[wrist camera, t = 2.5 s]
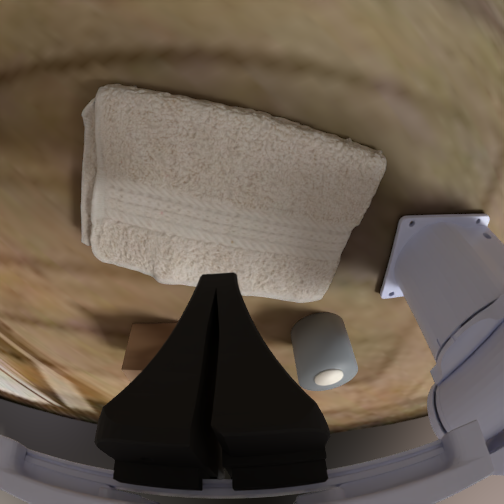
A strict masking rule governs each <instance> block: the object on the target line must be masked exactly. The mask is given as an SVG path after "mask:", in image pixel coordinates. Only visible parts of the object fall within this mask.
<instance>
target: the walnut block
mask: <svg viewBox="0 0 504 504" xmlns="http://www.w3.org/2000/svg"><path fill="white" fill-rule="evenodd" d="M176 324H177V323H133V324H132V328H131V332H130V336H129V340H128V344H127V348H126V352H125V357H124V361H123V365H122V371H123V372H124V374H125V375H126V377H127V378H128V380H129V381H130V383H131V382H132V381H133V380H134V379H135V378H136V377H137V376H138V375H139V374H140V373H141V371H142V370H143V369H144V368H145V367H146V366H147V365H148V364H149V362H150V361H151V360H152V359H153V357H154V356H155V355H156V354H157V352H158V351H159V350H160V348H161V347H162V346H163V344H164V343H165V341H166V340H167V339H168V337H169V336H170V334H171V333H172V331H173V329H174V328H175V326H176Z"/></svg>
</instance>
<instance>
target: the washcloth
mask: <svg viewBox="0 0 504 504" xmlns="http://www.w3.org/2000/svg"><path fill="white" fill-rule="evenodd" d="M81 116H82V117H83V122H84V126H85V132H84V153H83V161H82V187H81V190H82V192H81V224H82V227H81V228H82V239H81V241H82V243H84V244H86V245H88V246H90V245H91V246H92V252H93V254H94V256H95V257H96V258H97V259H99V260H100V261H102V262H105V263H110V264H115V265H117V266H121V267H125V268H128V269H132V270H136V271H139V272H142V273H143V274H147V275H150V276H152V277H154V278H155V280H157V281H158V282H159V283H163V284H171V285H172V284H182V285H187V286H195V287H196V286H197V284H198V281H199V279H200V277H201V276H202V275H203V274H217V273H232V272H234V273H236V274H237V279H238V285H239V289H240V292H241V295H246V296H259V297H267V298H274V299H280V300H285V301H292V302H297V303H304V302H312V301H316V300H320V299H322V297H323V295H324V293H325V292H326V291H327V289H328V287H329V285H330V283H331V282H332V278H333V276H334V274H335V271H336V269H337V266H338V263H339V262H340V255H341V253H342V251H343V249H344V248H345V246H346V244H347V240H348V239H349V237H350V234H351V230H352V229H353V228H354V227H355V226H358V225H359V224H360V221H361V220H362V219H363V216H364V213H365V212H366V210H367V208H369V206H370V203H371V200H372V197H373V195H375V193H376V190H377V188H378V186H379V183H380V181H381V179H382V177H383V175H384V172H385V171H386V163H387V161H386V158H385V156H384V155H383V154H382V151H381V150H379V151H377V150H373V149H371V148H369V147H367V146H362V145H360V144H359V143H356V142H353V141H352V140H351V138H348V139H342V138H340V137H338V136H337V135H336V134H328V133H325V132H322V131H319V130H315V129H313V128H310V127H309V126H307V125H306V126H305V125H300V123H299V122H292V121H290V120H288V119H285V118H282V117H273V116H271V115H270V114H269V113H266V112H262V111H254V110H253V109H245V108H241V107H237V106H234V107H229V106H227V105H223V104H222V103H221V104H220V103H213V102H211V101H208V100H198V99H193V98H190V97H187V96H183V95H171V94H170V93H168V92H167V93H166V92H161V91H160V92H159V91H153V90H151V89H149V90H147V89H139V88H137V86H136V85H135V86H123V85H121V84H112V85H110V84H107V85H105V86H104V87H99V89H98V91H97V94H96V97H95V98H94V99H92V100H91V101H90V102H89V104H88V105H87V106H86V107H85V108H84V109H83V111H82V114H81Z"/></svg>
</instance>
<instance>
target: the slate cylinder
mask: <svg viewBox="0 0 504 504" xmlns="http://www.w3.org/2000/svg"><path fill="white" fill-rule="evenodd" d="M291 340H292V345H293V351H294V357H295V363H296V368H297V374H298V380H299V384H300V386H301V387H303V388H304V389H307V390H312V391H322V390H329V389H333V388H336V387H339V386H341V385H343V384H345V383H347V382H348V381H350V380H351V379H352V378H353V377H354V376H355V375H356V373H357V371H358V366H357V363H356V360H355V356H354V353H353V350H352V347H351V344H350V340H349V337H348V334H347V331H346V328H345V325H344V322H343V320H342V318H341V317H340V316H338V315H336V314H333V313H326V312H323V313H316V314H312V315H309V316H307V317H305V318H303V319H301V320H300V321H298V322H297V323H296V324H295V325H294V326H293V328H292V330H291Z"/></svg>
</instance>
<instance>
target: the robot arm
mask: <svg viewBox="0 0 504 504" xmlns="http://www.w3.org/2000/svg"><path fill="white" fill-rule="evenodd" d="M489 219H490V218H489V216H488V215H487V214H443V215H407V216H403V217H401V218H400V220H399V223H398V227H397V231H396V236H395V240H394V244H393V248H392V252H391V255H390V259H389V263H388V267H387V270H386V274H385V277H384V281H383V284H382V287H381V291H380V296H381V298H383V299H386V298H393V297H401V296H404V297H405V299H406V301H407V303H408V305H409V307H410V309H411V311H412V313H413V314H414V316H415V318H416V320H417V323H418V325H419V327H420V329H421V331H422V333H423V335H424V337H425V339H426V341H427V343H428V345H429V348H430V350H431V352H432V354H433V356H434V359H435V361H436V365H435V366H434V367H433V368H432V370H431V371H430V372H431V375H432V377H433V380H434V382H435V384H434V385H433V386H432V387H431V389H430V391H429V394H428V400H427V409H428V415H429V420H430V423H431V426H432V428H433V431H434V433H435V434H436V436H437V437H438V439H439V440H436V441H434V442H431V443H428V444H425V445H423V446H419V447H417V448H413V449H411V450H407V451H404V452H401V453H397V454H394V455H390V456H387V457H383V458H379V459H376V460H372V461H368V462H363V463H359V464H355V465H350V466H345V467H340V468H335V469H330V470H327V468H326V462H325V459H326V452H325V445H326V443H327V441H328V440H329V438H330V431H329V428H328V425H327V422H326V420H325V418H324V416H323V414H322V412H321V410H320V409H319V407H318V405H317V403H316V402H315V401H314V400H313V399H312V398H311V397H310V396H308V395H307V394H306V393H305V392H304V391H303V390H302V389H301V387H300V386H299V385H298V384H297V383H296V382H295V381H294V380H293V379H292V378H291V377H290V375H289V374H288V373H287V372H286V370H285V369H284V368H283V367H282V365H281V364H280V363H279V362H278V360H277V359H276V358H275V356H274V355H273V354H272V352H271V351H270V349H269V348H268V346H267V345H266V343H265V342H264V340H263V339H262V337H261V335H260V333H259V332H258V330H257V328H256V326H255V324H254V323H253V321H252V319H251V317H250V315H249V312H248V310H247V308H246V305H245V303H244V301H243V298H242V295H241V292H240V289H239V285H238V279H237V274H236V273H234V272H232V273H217V274H203V275H202V276H201V277H200V279H199V281H198V284H197V286H196V288H195V291H194V293H193V295H192V297H191V299H190V301H189V303H188V305H187V307H186V309H185V311H184V312H183V314H182V316H181V318H180V319H179V321H178V323H177V324H176V326H175V328H174V329H173V331H172V333H171V334H170V336H169V337H168V339H167V340H166V341H165V343H164V344H163V346H162V347H161V348H160V350H159V351H158V352H157V354H156V355H155V356H154V357H153V359H152V360H151V361H150V362H149V364H148V365H147V366H146V367H145V368H144V369H143V370H142V371H141V373H140V374H139V375H138V376H137V377H136V378H135V379H134V380H133V381H132V382H131V383H130V384H129V385H128V386H127V387H126V388H125V389H124V390H123V391H121V392H120V393H119V394H118V395H117V396H116V397H114V398H113V399H112V400H111V401H110V402H109V403H107V404H106V405H105V406H104V407H103V409H102V412H101V415H100V418H99V421H98V425H97V431H96V436H95V444H96V446H97V447H98V448H99V449H100V450H102V451H103V452H104V453H106V454H107V455H109V456H110V457H112V458H114V459H115V465H114V470H109V469H103V468H98V467H93V466H89V465H84V464H79V463H76V462H71V461H67V460H63V459H60V458H56V457H53V456H49V455H46V454H43V453H39V452H36V451H33V450H30V449H27V448H26V447H25V446H24V445H22V444H21V443H19V442H17V441H15V440H13V439H10V438H8V437H5V436H3V435H0V489H1V490H3V491H5V492H7V493H9V494H11V495H13V496H14V497H17V498H19V499H21V500H23V501H25V502H27V503H29V504H160V503H159V502H155V501H152V500H148V499H146V498H143V497H142V496H140V495H137V494H132V493H128V492H124V491H119V490H116V489H121V490H126V491H133V492H139V493H147V494H155V495H165V496H175V497H189V498H256V497H270V496H281V495H291V494H299V493H306V492H313V491H318V492H313V493H309V494H305V495H300V496H297V498H296V502H294V504H435V503H437V502H440V501H441V500H444V499H446V498H448V497H450V496H452V495H454V494H456V493H458V492H460V491H462V490H464V489H466V488H468V487H470V486H472V485H474V484H476V483H477V482H479V481H481V480H483V479H485V478H486V477H488V476H490V475H504V244H503V243H502V242H501V241H500V240H499V239H498V238H497V237H496V236H495V234H494V233H493V232H492V231H491V230H490V229H489V228H488V227H487V226H488V223H489ZM411 221H413V222H412V223H411V224H409V223H410V222H411ZM224 468H226V470H227V471H228V473H229V475H230V476H231V479H223V478H224V477H225V473H224ZM336 487H337V488H336ZM325 489H326V490H325ZM320 490H322V491H320Z"/></svg>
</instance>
